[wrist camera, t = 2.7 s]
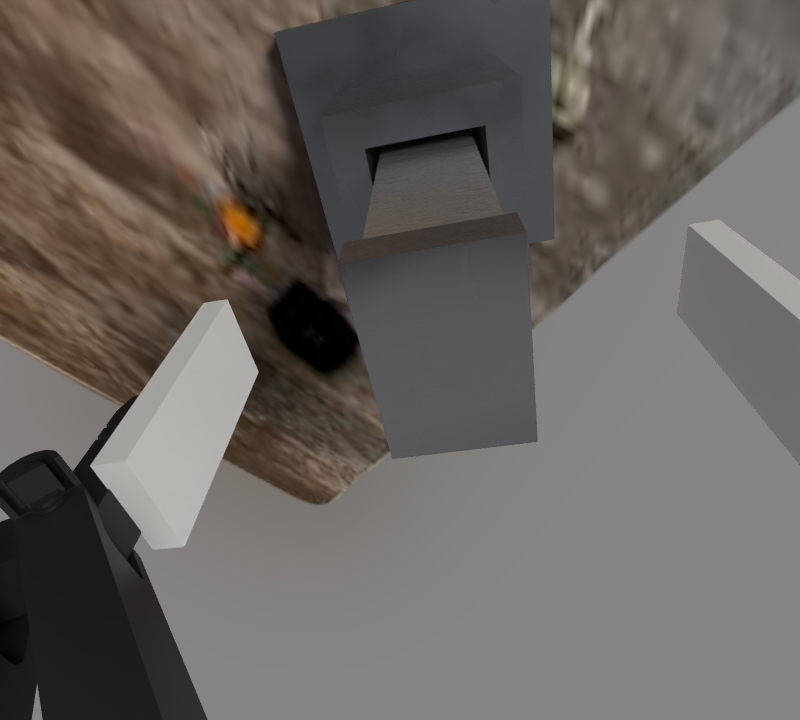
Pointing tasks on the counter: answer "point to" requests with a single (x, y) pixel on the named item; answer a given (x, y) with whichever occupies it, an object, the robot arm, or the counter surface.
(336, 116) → the stand base
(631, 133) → the counter surface
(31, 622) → the robot arm
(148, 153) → the counter surface
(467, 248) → the grey rectangular bar
